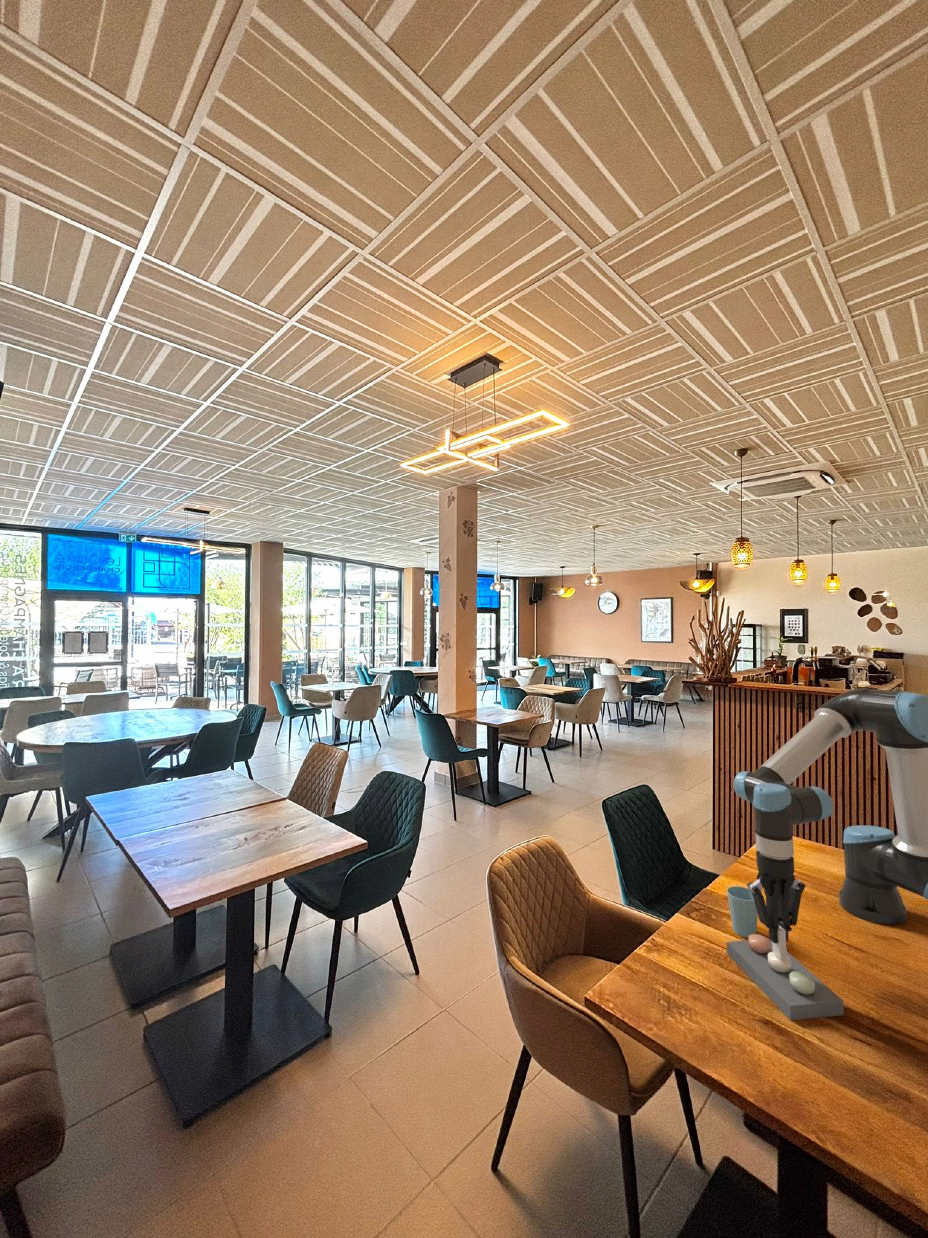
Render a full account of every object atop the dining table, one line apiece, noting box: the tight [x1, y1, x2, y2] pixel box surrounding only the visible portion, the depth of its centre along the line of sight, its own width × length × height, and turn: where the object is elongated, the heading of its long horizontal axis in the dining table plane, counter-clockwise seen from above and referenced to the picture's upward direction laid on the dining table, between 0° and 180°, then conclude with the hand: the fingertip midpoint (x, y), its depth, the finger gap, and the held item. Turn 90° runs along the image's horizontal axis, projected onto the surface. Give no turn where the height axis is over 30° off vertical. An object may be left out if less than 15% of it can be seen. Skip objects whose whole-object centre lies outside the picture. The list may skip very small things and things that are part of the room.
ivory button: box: [768, 952, 791, 974], centre depth 117 cm, size 5×5×4 cm
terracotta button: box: [748, 933, 770, 954], centre depth 124 cm, size 5×5×4 cm
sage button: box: [789, 971, 815, 996], centre depth 110 cm, size 5×5×4 cm
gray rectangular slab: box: [726, 937, 845, 1021], centre depth 117 cm, size 12×22×3 cm, turn 5°
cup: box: [726, 885, 759, 939], centre depth 136 cm, size 8×8×10 cm
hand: (779, 955), depth 117 cm, fingers closed
